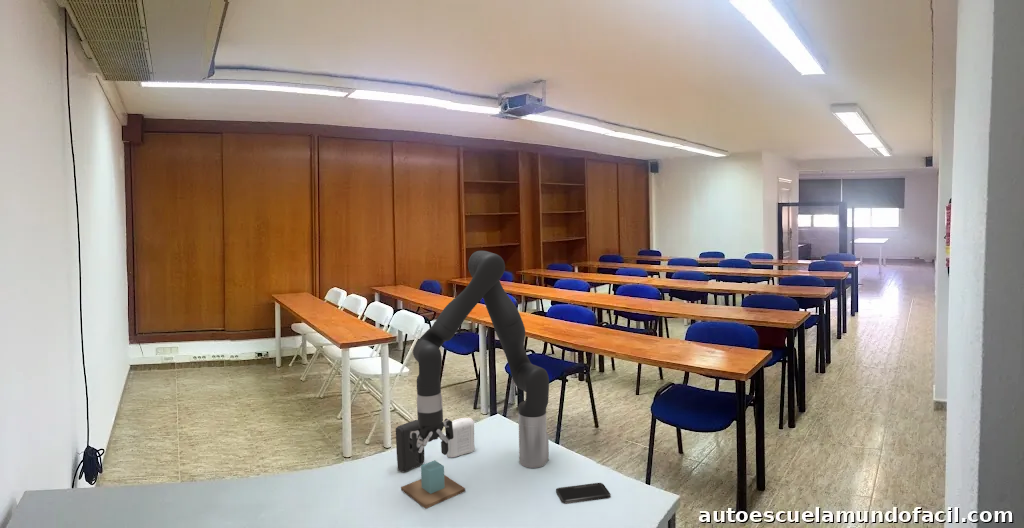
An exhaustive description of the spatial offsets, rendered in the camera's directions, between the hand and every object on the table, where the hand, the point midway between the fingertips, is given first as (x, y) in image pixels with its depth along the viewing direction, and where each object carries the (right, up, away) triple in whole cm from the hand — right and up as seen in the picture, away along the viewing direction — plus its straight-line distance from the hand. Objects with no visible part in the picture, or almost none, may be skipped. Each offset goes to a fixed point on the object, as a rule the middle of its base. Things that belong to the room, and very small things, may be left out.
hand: (432, 458), depth 164 cm
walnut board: (0, -10, +1) cm, 10 cm away
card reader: (-9, -9, +16) cm, 21 cm away
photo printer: (+6, -8, +26) cm, 28 cm away
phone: (+45, -10, -3) cm, 46 cm away
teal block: (0, -9, +1) cm, 9 cm away
